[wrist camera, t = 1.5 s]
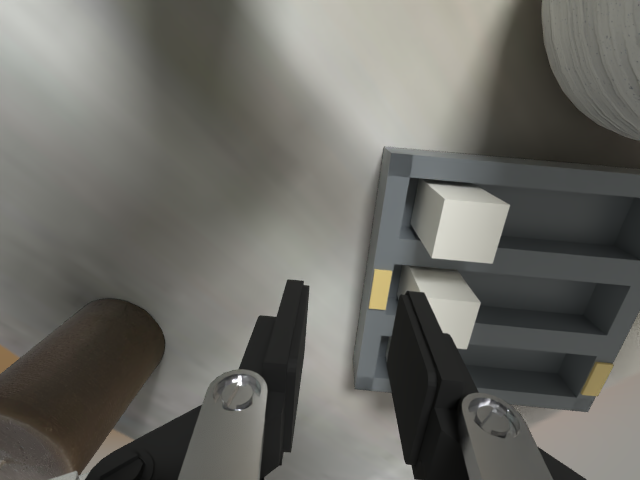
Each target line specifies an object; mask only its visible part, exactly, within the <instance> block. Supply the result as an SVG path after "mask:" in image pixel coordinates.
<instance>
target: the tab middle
mask: <svg viewBox="0 0 640 480" xmlns="http://www.w3.org/2000/svg"><path fill="white" fill-rule="evenodd" d="M406 291H415V292H424V293H425V295H426V297H427V299H428V302H429V304H430V306H431V308H432V310H433V312H434V314H435V317H436V319H437V321H438V323H439V325H440V327H441V330H442V332H443V333H448V334H450V336H451V337H452V339H453V341H454V343H455V345H456V347H457V348H458V349H467V347H468V344H469V341H470V337H471V334H472V331H473V327H474V324H475V321H476V317H477V314H478V311H479V307H480V304H481V302H480V301H479V300H478V298H477V297H476V295H475V294H474V293H473V291H472V290H471V289H470V287H469V286H468V284H467V283H466V282H465V280H464V279H463V277H462V276H461V275H460V273H459V272H458V271H457V270H452V269H442V268H431V267H420V266H409V265H402V271H401V276H400V281H399V286H398V292H397V297H398V300H399V296H400V295H401V294H402V295H405V293H406Z"/></svg>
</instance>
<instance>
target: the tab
mask: <svg viewBox="0 0 640 480" xmlns="http://www.w3.org/2000/svg"><path fill="white" fill-rule="evenodd" d="M509 207H510V205H509V204H507V203H506V202H504V201H502V200H500V199H499V198H497V197H495V196H494V195H492V194H490V193H488V192H487V191H485V190H483V189H481V188H480V187H478V186H476V185H474V184H473V183H467V182H456V181H444V180H433V179H422V178H419V181H418V186H417V192H416V197H415V202H414V207H413V213H412V218H411V223H410V224H411V225H412V227H413V229H414V230H415V232H416V234H417V235H418V237H419V238H420V240H421V242H422V243H423V245H424V247H425V248H426V250H427V251H428V253H429V255H430V256H431V258H436V259H447V260H458V261H468V262H479V263H490V264H493V261H494V257H495V254H496V251H497V247H498V244H499V241H500V237H501V234H502V231H503V227H504V224H505V221H506V217H507V214H508V211H509Z"/></svg>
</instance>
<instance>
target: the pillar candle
mask: <svg viewBox="0 0 640 480" xmlns="http://www.w3.org/2000/svg"><path fill="white" fill-rule="evenodd" d="M162 333H163V332H162V330H161V328H160V327H159V325H158V323H156V322H155V320H154V319H153V318H152V317H151V316H150V315H149V314H148V313H147V312H146V311H145V310H143V309H142V308H140V307H138V306H136V305H134V304H131V303H129V302H126V301H122V300H118V299H99V300H96V301H93V302H91V303H89V304H87V305H86V306H84V307H83V308H82V309H81V310H79V311H78V312H77V313H76V314H74V315H73V316H72V317H71V318H69V319H68V320H67V321H65V322H64V323H63V324H62V325H61V326H60V327H58V328H57V329H56V330H55V331H53V332H52V333H51V334H50V335H48V336H47V337H46V338H45V339H43V340H42V341H41V342H40V343H38V344H37V345H36V346H35V347H33V348H32V349H31V350H30V351H28V352H27V353H26V354H25V355H24V356H22V357H21V358H20V359H18V360H17V361H16V362H15V363H14V364H12V365H11V366H10V367H8V368H7V369H6V370H5V371H4V372H2V373H1V374H0V480H49V479H52V478H55V477H59V476H62V475H65V474H68V473H71V472H74V471H77V472H78V476H79V475H80V474H81V472H82V471H83V470H84V468H85V467H86V466H87V464H88V463H89V461H90V460H91V458H92V457H93V456H94V454H95V453H96V452H97V450H98V449H99V447H100V446H101V444H102V443H103V442H104V440H105V439H106V437H107V436H108V434H109V433H110V431H111V430H112V429H113V428H114V426H115V425H116V423H117V422H118V420H119V419H120V417H121V416H122V414H123V413H124V412H125V410H126V409H127V407H128V406H129V404H130V403H131V401H132V400H133V399H134V397H135V396H136V395H137V393H138V392H139V390H140V389H141V388H142V386H143V385H144V383H145V382H146V380H147V379H148V378H149V376H150V375H151V373H152V372H153V371H154V369H155V368H156V367H157V365H158V364H159V362H160V360H161V358H162V356H163V353H164V349H165V340H164V335H163V334H162Z"/></svg>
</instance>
